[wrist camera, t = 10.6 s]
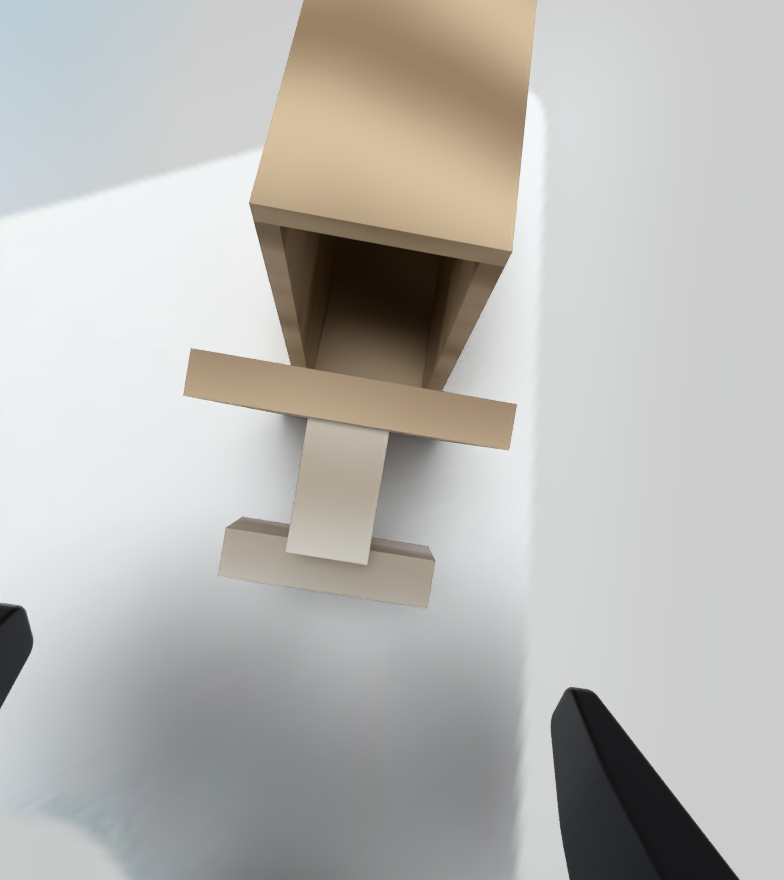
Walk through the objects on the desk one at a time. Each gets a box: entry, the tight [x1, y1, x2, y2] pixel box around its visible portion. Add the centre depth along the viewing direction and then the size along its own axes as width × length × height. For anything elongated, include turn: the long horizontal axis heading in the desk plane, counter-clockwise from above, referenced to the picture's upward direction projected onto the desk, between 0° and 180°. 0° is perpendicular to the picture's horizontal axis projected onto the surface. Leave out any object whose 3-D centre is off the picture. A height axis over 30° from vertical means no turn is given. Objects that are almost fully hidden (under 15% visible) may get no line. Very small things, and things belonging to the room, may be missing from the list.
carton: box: [249, 0, 537, 391], centre depth 19 cm, size 9×6×12 cm, turn 171°
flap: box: [183, 348, 517, 608], centre depth 17 cm, size 5×7×11 cm
